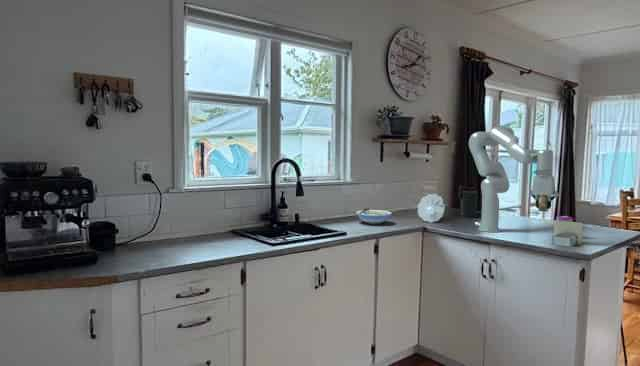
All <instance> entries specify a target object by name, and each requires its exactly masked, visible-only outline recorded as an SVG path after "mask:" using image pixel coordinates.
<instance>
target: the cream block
mask: <svg viewBox="0 0 640 366" xmlns="http://www.w3.org/2000/svg"><path fill="white" fill-rule="evenodd" d="M583 227H584V223H583V222H579V221H578V222H577V221H573V222H570V221H561V220H557V219H554V221H553V235H552V236H551V245H558V246H564V247H573V246H575V245H576V244H577V245H583V231H584V229H583Z"/></svg>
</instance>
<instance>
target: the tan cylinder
mask: <svg viewBox="0 0 640 366" xmlns="http://www.w3.org/2000/svg"><path fill="white" fill-rule="evenodd" d="M547 201H548V197H547V195H539V205H538V208H537V209H538V210H537V211H538V212H548V211H549V209H547Z"/></svg>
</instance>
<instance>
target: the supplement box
mask: <svg viewBox="0 0 640 366" xmlns="http://www.w3.org/2000/svg"><path fill="white" fill-rule="evenodd" d="M556 220H561V221H570V222H574V217H571V216H567V215H563V216H562V215H560V216H558V215H557V216H556Z"/></svg>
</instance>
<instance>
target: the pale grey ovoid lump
mask: <svg viewBox="0 0 640 366" xmlns="http://www.w3.org/2000/svg"><path fill="white" fill-rule="evenodd" d="M443 202H444V200H443V197H442V195H438V194H437V193H432V194H430V193H428V194H427V195H425V196H423V197H421V199H420V201H419V203H417V204H418V205H417V214H418V218H421V219H422V220H423V221H424V222H429V223H434V222H438V221H440V219H441V218H442V217H443V216H444V213H445V209H446V208H445V206H446V205H445V204H444V203H443Z"/></svg>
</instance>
